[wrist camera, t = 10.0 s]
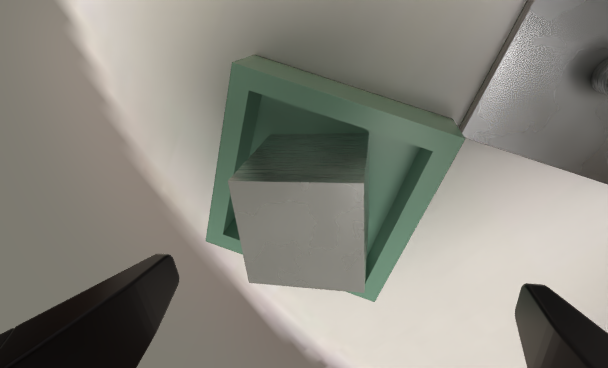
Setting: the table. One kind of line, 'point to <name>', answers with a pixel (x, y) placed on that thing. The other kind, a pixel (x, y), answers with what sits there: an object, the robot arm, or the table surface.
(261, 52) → the table surface
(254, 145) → the tray
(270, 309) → the table surface
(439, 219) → the table surface
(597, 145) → the stud plate
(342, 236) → the grey metal cube
